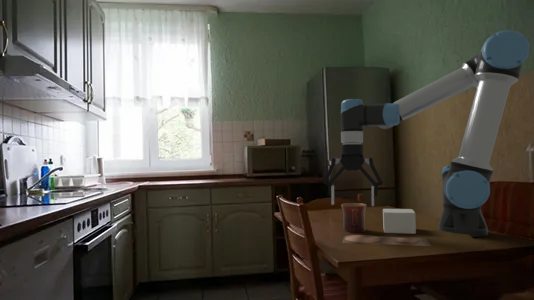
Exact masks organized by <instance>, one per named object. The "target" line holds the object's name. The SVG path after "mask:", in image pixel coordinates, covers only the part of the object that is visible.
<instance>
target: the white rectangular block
mask: <svg viewBox="0 0 534 300" xmlns="http://www.w3.org/2000/svg"><path fill="white" fill-rule="evenodd" d="M416 219H417V218H416V212H415V211H414V210H413V209H412V208H383V209H382V222H383V223H382V225H383V227H382V228H383V233H384V234H385V233H387V234H413V235H414V234H416V233H417V226H416V225H417V224H416Z"/></svg>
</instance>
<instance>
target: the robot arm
mask: <svg viewBox="0 0 534 300" xmlns="http://www.w3.org/2000/svg"><path fill="white" fill-rule="evenodd" d="M530 48H531V47H530V43H529V40H528V39H527V37H525V35H524V34H522V33H520V32H519V31H515V30H509V29H508V30H500V31H498V32H496V33H493V34H491V36H490V37H488V38H487V39H486V40H485V42H484V43H483V45H482V47H481V49H480V51H479V52H478V53H477V54H476V55H475V56H473V57H471V58H470V59H468V60H467V61H465V62H463V63H462V66H461V67H460V68H458V69H456V70H454V71H452V72H450V73H448V74H446V75H444V76H442V77H440V78H438V79H437V80H435V81H432V82H431V83H429V84H427V85H425V86H423V87H421V88H419V89H417V90H415V91H413V92H411V93H409V94H407V95H405V96H404V97H402V98H400V99H398V100H395V101H394V102H393V103H391V102H390V103H389V102H387V103H375V104H364V101H363V100H362V99H359V98H347V99H344V100H343V101H342V102H341V105H340V106H341V107H340V129H341V130H340V143H342V144H341V145H340V158H338V157H337V158H336V157H333V158H332V159H331V165H330V167H329V168H328V170H327V172H326V175H325V177H324V179H323V180H322V184H323V185H327V194H328V195H329V196H331V201H330V202H331V206H333V205H335V185H334V183H335V181H336V180H337V179H338V178H339V177H340V176H341V175H342V173H343V172H344V171H345V170H346V171H349V172H350V171H353V172H355V171H359V170H360V172H361V174H363V175H364V176H365V177H366V178H367V180H368V181H369V182H370V183H371V184H372V186H371V207H375V197H377V196H378V187H379V186H382V185H384V184H383V181H382V178H381V176H380V174H379V173H378V171H377V168H376V167H375V165H374V160H373V158H372V157H368V158H364V145H363V143H364V128H365V127H367V128H368V127H378V128H379V129H383V130H389V129H391V128H393V127H394V126H398V125H399V124H400V123H401V122H403V121H405V120H407V119H410V118H411V117H413V116H415V115H417V114H419V113H421V112H423V111H426V110H427V109H430V108H431V107H434V106H436V105H438V104H440V103H442V102H444V101H446V100H448V99H449V98H451V97H454V96H456V95H458V94H460V93H462V92H464V91H466V90H468V89H470V88H473V87H474V88H476V89H475V90H476V91H475V92H474V97H473V101H472V104H471V108H470V112H469V116H468V119H467V123H466V127H465V130H464V131H465V132H464V134H463V139H462V140H461V144H460V150H459V154H458V156H457V157H455V158H454V159H452V160H451V162H450V165H445V166H444V167H442V170H441V177H442V178H441V179H442V180H441V182H442V186H441V187H442V188H441V189H442V212H441V215H440V217H439V222H438V226H437V227H438V228H437V229H438V230H439V231H443V232H446V233H451V234H452V233H453V234H460V235H461V234H463V235H469V236H470V237H471V238H479V237H480V238H481V237H486V236H488V235H489V233H488V232H489V231H488V230H489V229H488V225H487V223H486V220H485V218H484V215H483V213H482V206H483V205H484V204H485V203H486V202H487V201H488V199H489V198H490V195H491V187H490V186H491V179H492V176H493V172H494V169H493V167H492V166H491V163H490V160H491V158H492V154H493V151H494V147H495V143H496V140H497V136H498V133H499V128H500V126H501V122H502V121H501V120H502V118H503V115H504V111H505V107H506V103H507V99H508V96H509V93H510V89H511V86H512V85H514V84H516V83H518V81H519V79H520V76H521V75H520V74H521V72H522V68H523V66H524V65H523V64H524V63H525V61H526V60H527V59H528V57H529V54H530V50H531V49H530ZM339 163H340V164H341V165H342V166H341V168H340V169H339V170H338V171H337V173H335V175H334V176H333V177H332V178H331V179H330V177H331V175H332V174H333V171H334V169H335V166H336V165H338V164H339ZM364 163H366V164H367V165H369V167H370V169H371V170H372V173H373V174H374V176H375V178H376V180H374V178H373V177H372V176H371V175H370V173H368V172H367V170H366V169H365V168H364V167H363V165H364ZM329 179H330V180H329Z"/></svg>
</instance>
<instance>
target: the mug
mask: <svg viewBox="0 0 534 300" xmlns="http://www.w3.org/2000/svg"><path fill="white" fill-rule="evenodd" d="M340 206H341V209H342V214H343V219H342V220H343V224H342V225H343V226H342V227H343V231H344V232H347V233H355V234H356V233H364V232H366V218H365V217H366V216H365V214H366V209H367V204H366V203H360V202H357V203H356V202H349V203H348V202H347V203H342V204H341V205H340Z"/></svg>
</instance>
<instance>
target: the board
mask: <svg viewBox="0 0 534 300" xmlns="http://www.w3.org/2000/svg"><path fill="white" fill-rule="evenodd" d="M342 244H365V245H387V246H390V245H391V246H412V247H432V244H431V243H430V242H429V241H428V239H427V238H426V237H412V236H411V237H408V236H378V235H377V236H376V235H370V234H369V235H368V234H351V235H350V234H348V235H347V234H345V235H343V238H342Z"/></svg>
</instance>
